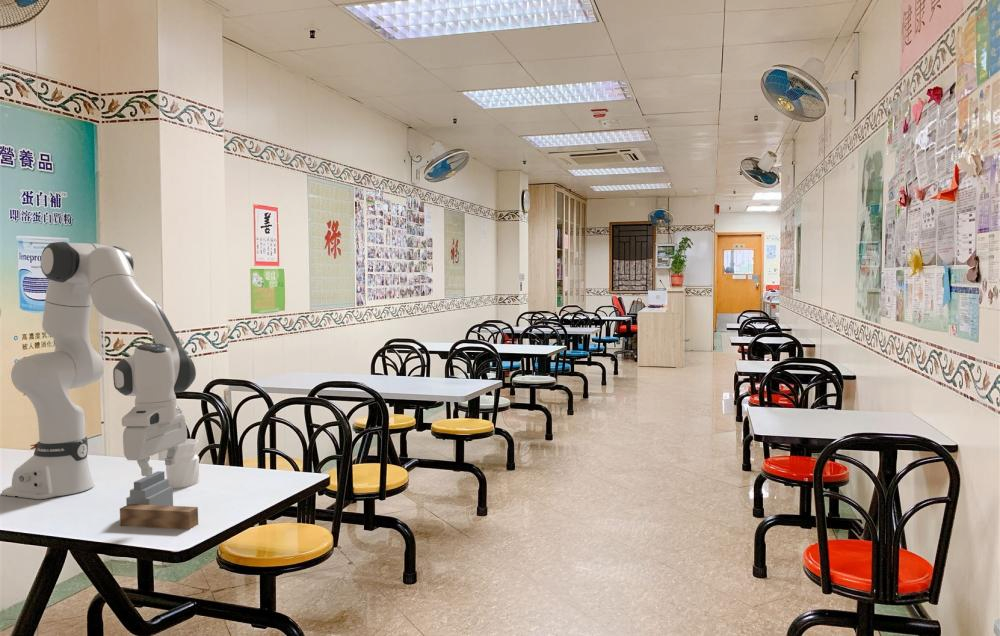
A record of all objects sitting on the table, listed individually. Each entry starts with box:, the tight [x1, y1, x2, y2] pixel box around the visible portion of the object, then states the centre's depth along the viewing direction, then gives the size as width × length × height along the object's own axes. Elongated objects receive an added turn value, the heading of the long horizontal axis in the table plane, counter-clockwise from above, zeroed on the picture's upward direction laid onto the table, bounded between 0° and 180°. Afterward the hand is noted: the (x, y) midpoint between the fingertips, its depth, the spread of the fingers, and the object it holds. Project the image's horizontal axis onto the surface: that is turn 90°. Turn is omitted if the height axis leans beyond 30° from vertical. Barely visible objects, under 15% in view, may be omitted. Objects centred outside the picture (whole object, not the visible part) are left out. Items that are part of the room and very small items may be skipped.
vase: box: [164, 438, 201, 488], centre depth 206 cm, size 9×9×12 cm
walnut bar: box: [119, 504, 199, 530], centre depth 171 cm, size 18×4×4 cm, turn 81°
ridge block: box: [125, 470, 174, 506], centre depth 180 cm, size 6×10×9 cm, turn 173°
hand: (158, 470), depth 170 cm, fingers open, 8 cm apart
